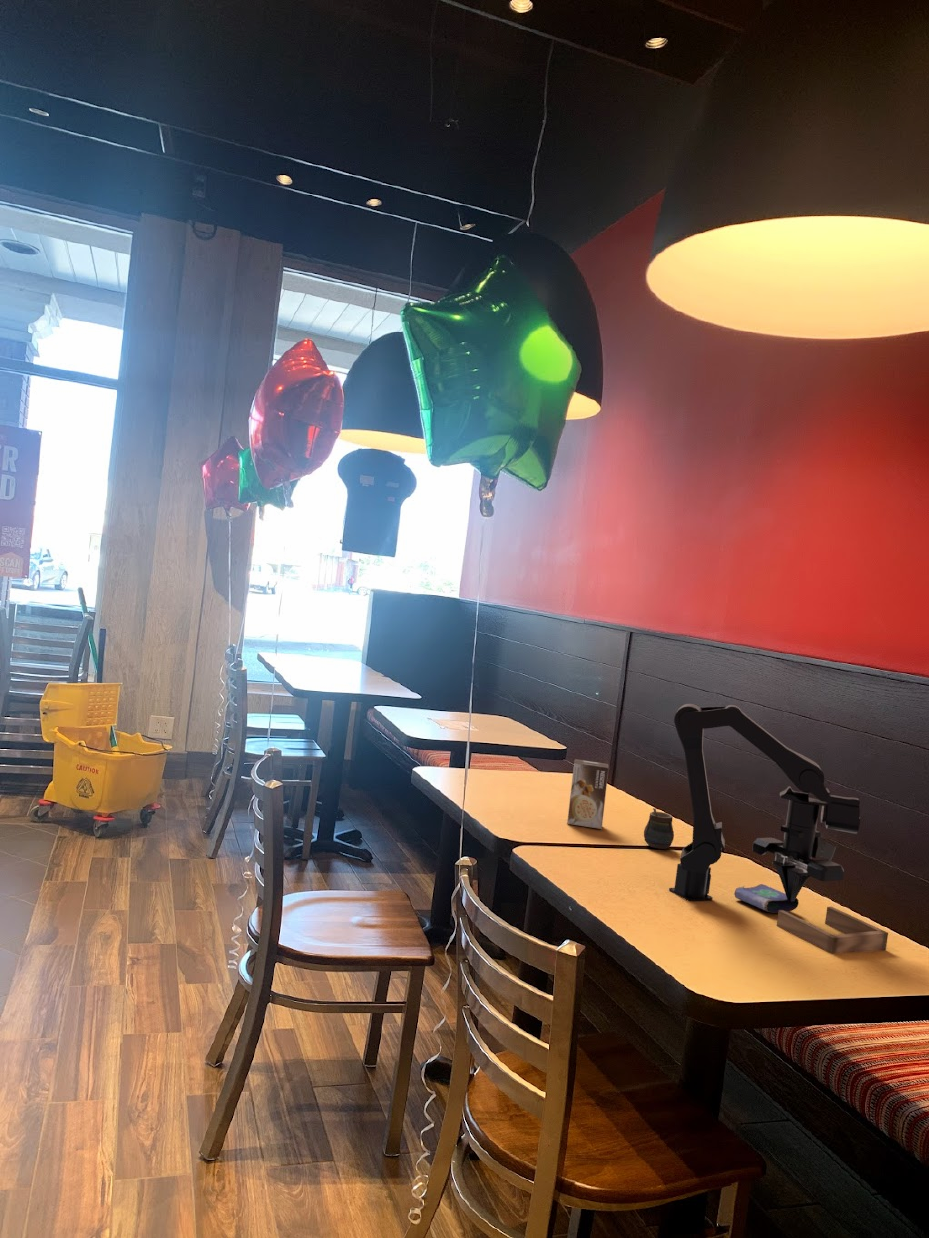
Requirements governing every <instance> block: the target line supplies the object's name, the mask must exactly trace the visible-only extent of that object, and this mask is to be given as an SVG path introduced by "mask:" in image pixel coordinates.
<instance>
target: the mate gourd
mask: <svg viewBox="0 0 929 1238" xmlns="http://www.w3.org/2000/svg"><path fill="white" fill-rule="evenodd" d="M652 809H653V810H652V811H651V812H649V817H648V818H649V819H648V821H647V823H646V825H645V827H644V831H643V837H644V842H645V844H647V845H648V846H649V847H651V848H654V849H660V850H661V849H662V850H663V849H664V850H665V849H667V850H668V848H670V847H671V845H672V843H673V841H674V838H675V837H674V835H675V834H674V828H673V827H674V826H673V819H674V818H673V815H671V814H669V813H668V812H667V813H666V812H662V811H657V809H656V808H653V807H652Z"/></svg>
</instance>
